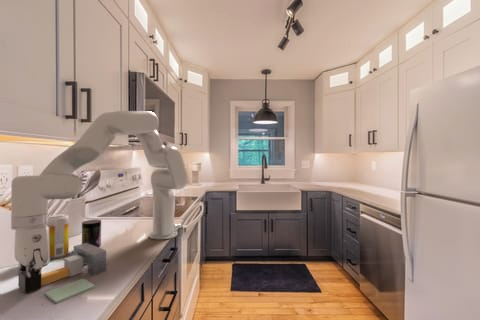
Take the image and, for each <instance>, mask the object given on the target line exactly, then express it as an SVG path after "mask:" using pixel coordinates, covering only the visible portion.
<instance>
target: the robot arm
mask: <svg viewBox="0 0 480 320" xmlns="http://www.w3.org/2000/svg"><path fill="white" fill-rule="evenodd" d="M159 126H160V119H159V118H158V116H157V115H156V114H155V112H152V111H149V110H115V111H109V112H108V111H107V112H103V113H101V114H99V115H98V116H97V117H96V118H95V119H94V120H93V122H92V123H91V124H90V126H88V128H87V129H86V130H85V132H83V134H82V135H81V137H79V139H78V140H77V141H76V142H75V143H73V144H71V146H69V147H68V148H66V149H65V150H64V151H62V152H61V153H60V154H59V155H57V156H56V157H54V159H52V160H51V161H50V162H49V164H47V165H46V167H45V168H44V169H43V171H41V173H40V174H39V175H20V176H16V177H14V178H13V179H12V180H11V187H10V188H11V191H10V192H11V196H10V197H11V201H10V203H11V205H10V208H11V212H10V213H11V214H10V222H11V224H10V229H11V230H13V231H15V232H14V259H15V260H16V262H18V273H19V272H22V271H25V270H26V272H27V277H26V278H25V292H26V293H25V294H28V293H32V292H34V291H37V290H40V289H41V288H42V286H41V275H42V270H43V266H44V265H42V261H44V262H47V261H48V238H47V230H46V227H47V226H48V218H49V200H70V199H73V198H75V197H76V196H78V195H80V194H81V191H82V190H83V181H82V180H81V179H80V177H78V176H77V175H74V173H75V172H76V171H78V169H80V168H81V167H83V166H85V165H88V164H91V163H92V162H94V161H97V160H98V159H100V158H101V157H103V155H104V154H105V153H106V151H107V150H108V148H109V147H110V146H111V144H112V143H113V142H114V140H115V139H116V137H118V136H131V135H132V136H135V137H136V138H137V140H138V141H139V143H140V145H141V146H142V150H143V152H144V153H143V154H144V156H145V158H146V160H147V163H148V165H149V166H150V167H152V168H156V169H155V170H154V171H152V173H151V174H150V183H151V188H152V231H151V232H150V233H149V234H148V237H149V238H150V239H151V240H159V241H160V240H161V241H162V240H168V239H172V238H175V237H177V235H178V231H177V229H180V228H182V224H181V223H177V224H176V223H175V195H174V192H173V190H184V189H185V188H186V187H187V184H188V183H189V176H188V173H187V169H186V166H185V165H186V164H185V161H184V158H183V155H182V153H181V151H180V150H179V149H178V148H177V147H175V146H169V145H168V146H165V145H164V143H163V140H162V138H161V135H160V133H159V132H158V131H157V129H158V128H159ZM41 260H42V261H41ZM33 262H34V264H33ZM33 266H34V267H33ZM30 269H32V270H31V271H30Z"/></svg>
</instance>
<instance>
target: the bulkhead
mask: <svg viewBox="0 0 480 320" xmlns="http://www.w3.org/2000/svg"><path fill="white" fill-rule="evenodd" d="M74 255H79V256H81V257H83V266H86V265H87V273H88V274H89V275H91V276H96V275H98V274H101V273H104V272H106V271H107V250H106V249H103V248H102V247H96V246H94V245H91V244H89V243H84V244H82V243H80V244H77V245H73V256H74Z"/></svg>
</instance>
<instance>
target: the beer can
mask: <svg viewBox="0 0 480 320" xmlns="http://www.w3.org/2000/svg"><path fill="white" fill-rule="evenodd" d="M57 214H58V215H54V214H50V215H48V224H47V227H49V233H50V259H52V260H53V259H60V258H63V257H65V256H67V255H68V253H69V245H70V244H69V239H70V238H69V237H70V236H69V235H70V233H69V230H70V229H69V227H70V226H69V225H70V223H69V220H70V219H69V218H70V216H69V215H68V213H65V212H64V213H57ZM51 215H53V216H51Z"/></svg>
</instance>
